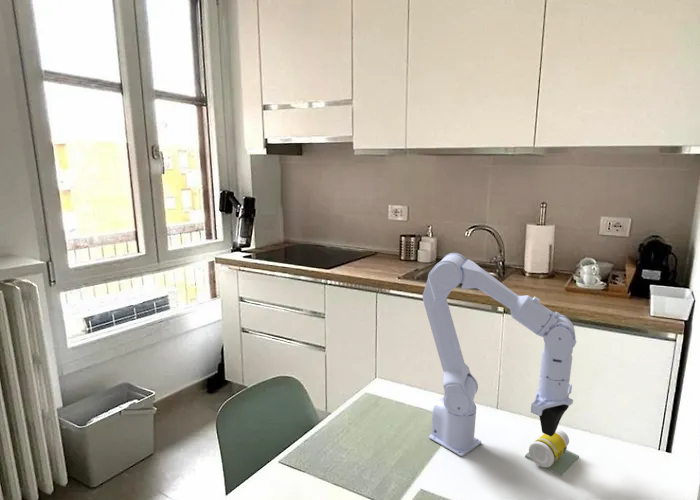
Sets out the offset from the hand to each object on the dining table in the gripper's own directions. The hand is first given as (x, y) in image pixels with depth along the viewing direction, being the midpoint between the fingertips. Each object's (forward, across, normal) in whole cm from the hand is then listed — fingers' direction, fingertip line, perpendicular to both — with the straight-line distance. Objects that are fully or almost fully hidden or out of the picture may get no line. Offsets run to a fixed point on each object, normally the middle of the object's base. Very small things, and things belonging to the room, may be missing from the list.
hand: (548, 433), depth 100 cm
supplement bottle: (+4, -3, 0) cm, 5 cm away
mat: (+7, +4, 0) cm, 8 cm away
